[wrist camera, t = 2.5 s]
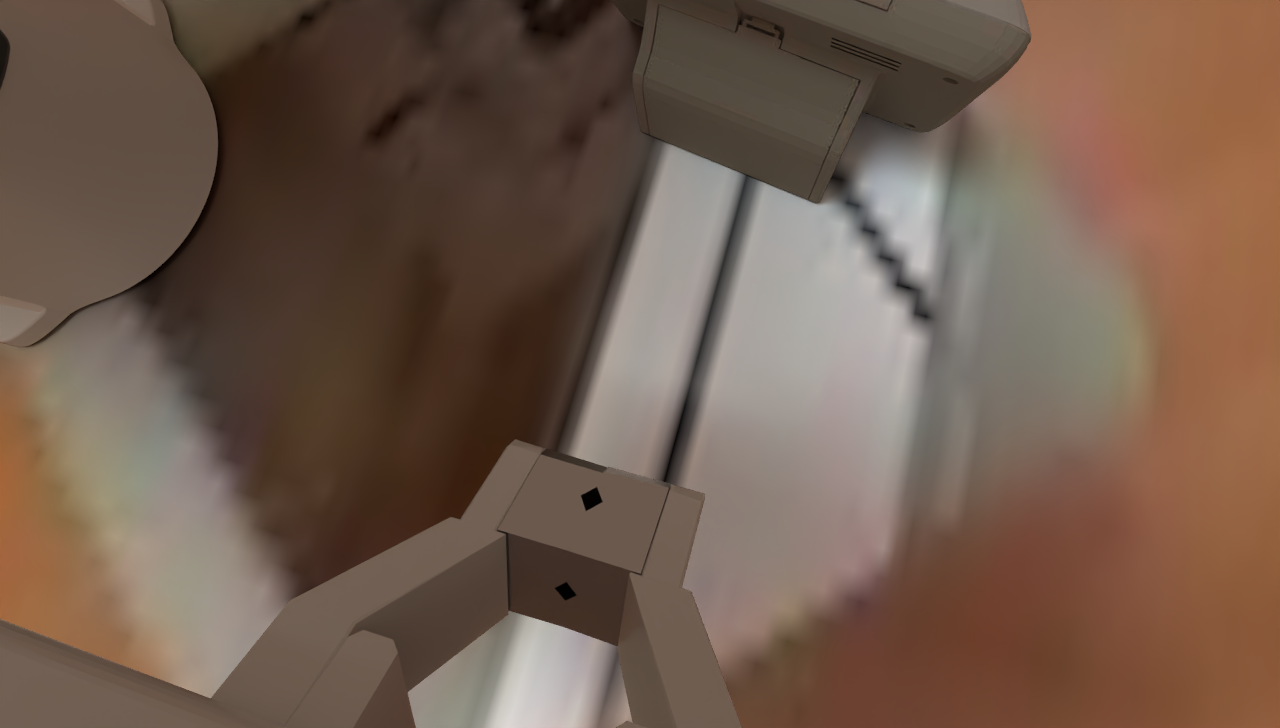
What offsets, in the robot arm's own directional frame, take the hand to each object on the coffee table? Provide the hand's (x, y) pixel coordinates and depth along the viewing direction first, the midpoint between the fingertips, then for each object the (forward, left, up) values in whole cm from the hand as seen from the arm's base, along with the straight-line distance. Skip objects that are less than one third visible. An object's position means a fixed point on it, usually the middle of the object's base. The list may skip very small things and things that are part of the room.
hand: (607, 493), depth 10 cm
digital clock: (0, +18, -18) cm, 26 cm away
